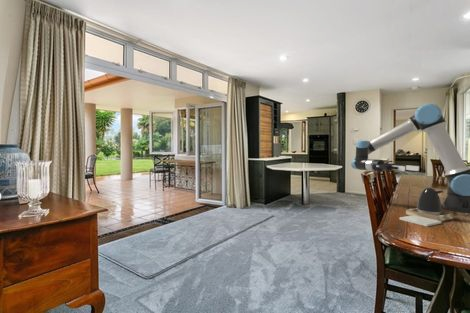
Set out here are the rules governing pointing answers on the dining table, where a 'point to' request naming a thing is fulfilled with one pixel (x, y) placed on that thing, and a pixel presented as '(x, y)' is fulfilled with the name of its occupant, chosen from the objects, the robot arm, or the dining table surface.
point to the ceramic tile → (420, 220)
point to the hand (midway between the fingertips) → (412, 168)
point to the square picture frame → (441, 217)
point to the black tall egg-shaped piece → (429, 202)
